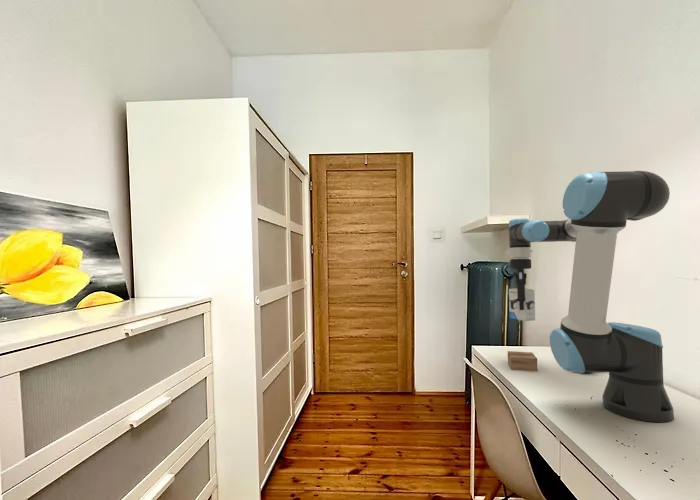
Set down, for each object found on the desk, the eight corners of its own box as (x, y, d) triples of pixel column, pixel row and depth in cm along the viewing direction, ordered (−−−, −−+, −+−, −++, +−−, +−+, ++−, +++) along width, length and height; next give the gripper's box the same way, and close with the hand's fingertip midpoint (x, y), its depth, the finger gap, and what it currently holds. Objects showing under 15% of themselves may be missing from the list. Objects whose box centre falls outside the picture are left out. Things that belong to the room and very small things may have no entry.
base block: (537, 372, 130) (537, 358, 130) (511, 370, 133) (510, 357, 133) (532, 365, 139) (532, 352, 139) (507, 363, 141) (507, 351, 141)
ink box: (508, 318, 140) (508, 288, 140) (519, 317, 141) (518, 287, 141) (525, 321, 131) (524, 289, 132) (536, 320, 133) (534, 289, 133)
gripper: (531, 258, 126) (533, 321, 125) (530, 258, 145) (532, 313, 144) (508, 258, 129) (510, 320, 128) (510, 258, 148) (512, 312, 148)
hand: (522, 316), depth 136 cm, fingers closed on ink box, 9 cm apart
